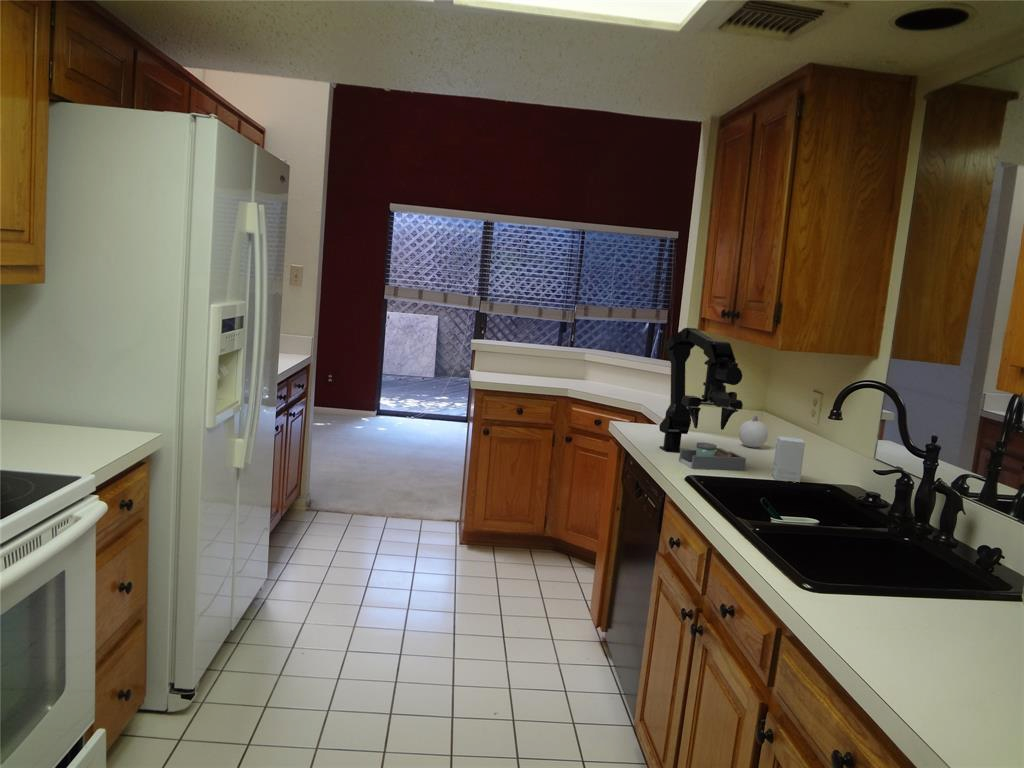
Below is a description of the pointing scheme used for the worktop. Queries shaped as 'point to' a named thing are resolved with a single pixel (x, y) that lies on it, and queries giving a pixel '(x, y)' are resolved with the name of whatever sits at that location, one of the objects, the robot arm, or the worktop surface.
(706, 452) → the jar
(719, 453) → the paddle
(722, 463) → the gray tray
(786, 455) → the supplement box
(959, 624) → the worktop surface
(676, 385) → the robot arm
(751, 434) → the ornament
